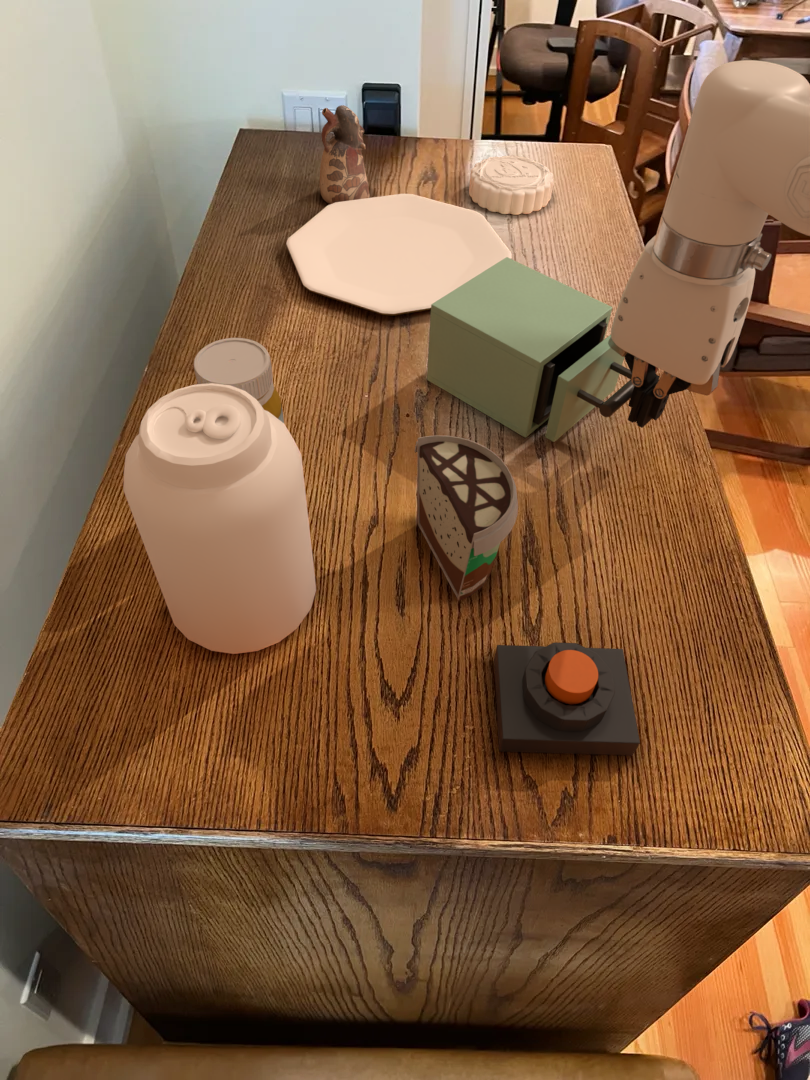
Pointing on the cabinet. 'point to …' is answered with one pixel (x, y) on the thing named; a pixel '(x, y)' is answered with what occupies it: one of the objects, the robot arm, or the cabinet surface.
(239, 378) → the bottle
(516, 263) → the green drawer box
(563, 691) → the button
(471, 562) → the food container
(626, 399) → the green cabinet drawer
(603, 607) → the cabinet surface
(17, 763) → the cabinet surface
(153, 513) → the can
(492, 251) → the plate
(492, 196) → the mooncake
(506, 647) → the block
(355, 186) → the figurine
